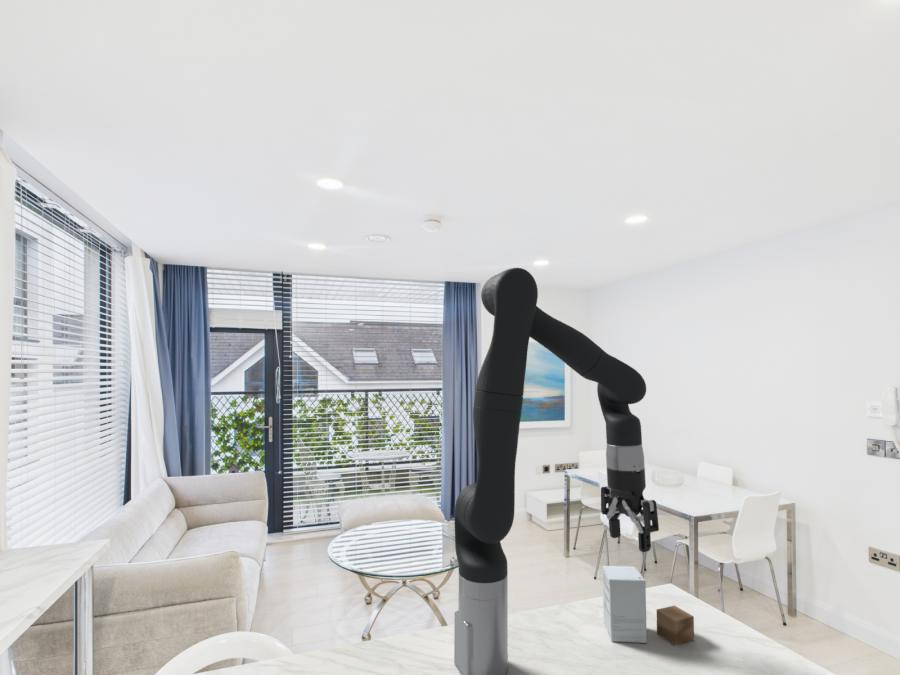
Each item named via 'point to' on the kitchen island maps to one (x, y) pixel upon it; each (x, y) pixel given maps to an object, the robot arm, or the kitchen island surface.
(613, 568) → the supplement box
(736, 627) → the kitchen island surface
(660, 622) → the walnut cube
